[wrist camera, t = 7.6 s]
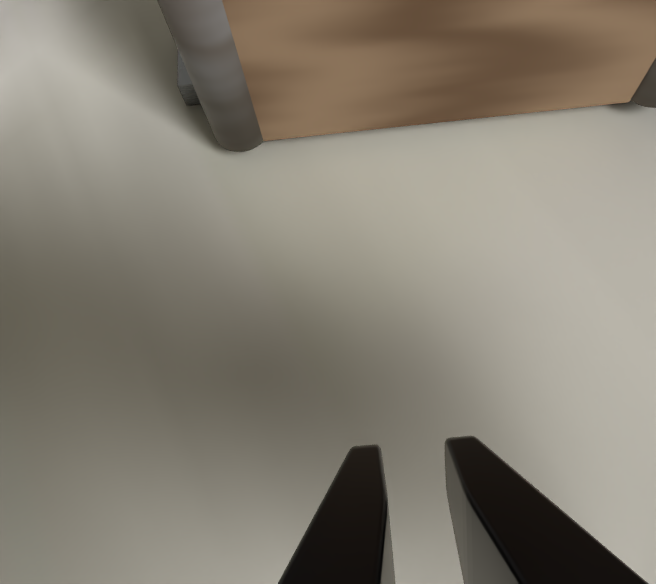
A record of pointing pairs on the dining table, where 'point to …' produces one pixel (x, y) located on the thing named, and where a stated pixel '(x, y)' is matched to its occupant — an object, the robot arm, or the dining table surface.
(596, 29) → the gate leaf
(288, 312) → the dining table surface
